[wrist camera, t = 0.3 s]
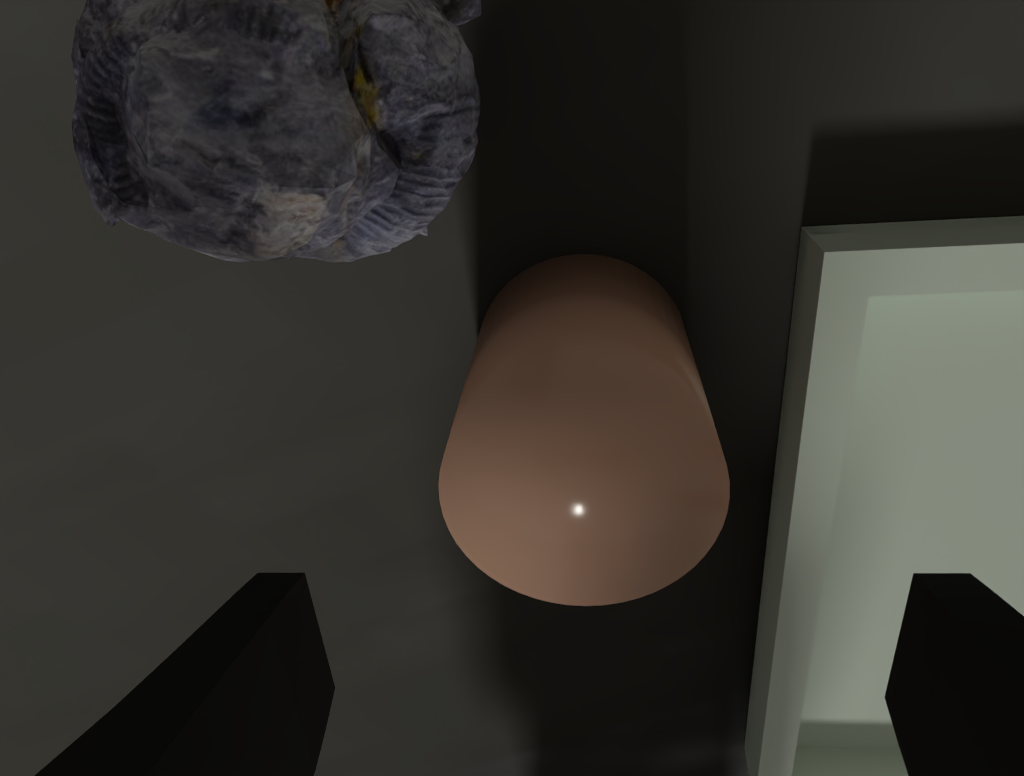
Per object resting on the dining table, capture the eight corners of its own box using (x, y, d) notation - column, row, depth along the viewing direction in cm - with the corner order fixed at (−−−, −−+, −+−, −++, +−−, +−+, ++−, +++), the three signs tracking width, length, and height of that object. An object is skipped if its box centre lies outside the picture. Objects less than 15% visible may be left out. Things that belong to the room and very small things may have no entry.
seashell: (395, -154, 14) (79, -391, 5) (556, 95, 16) (526, 234, 7) (205, 30, 16) (-270, 88, 7) (369, 234, 18) (159, 483, 9)
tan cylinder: (683, 439, 20) (721, 606, 14) (488, 443, 20) (455, 605, 15) (691, 248, 17) (739, 365, 12) (468, 259, 18) (420, 375, 12)
